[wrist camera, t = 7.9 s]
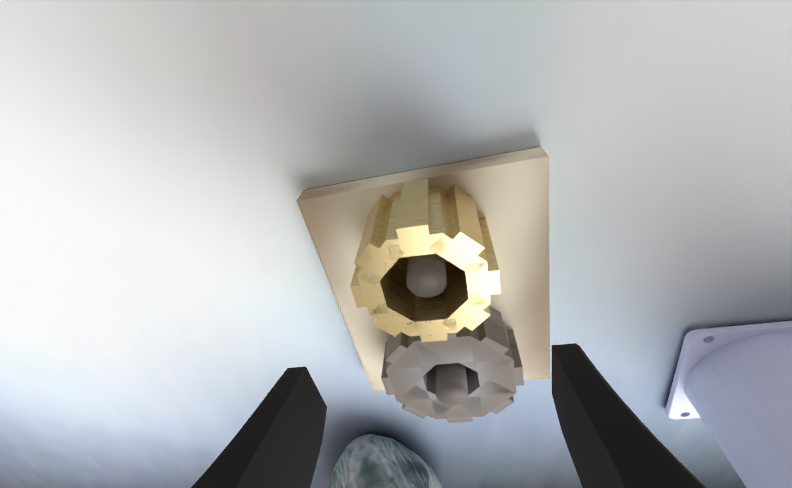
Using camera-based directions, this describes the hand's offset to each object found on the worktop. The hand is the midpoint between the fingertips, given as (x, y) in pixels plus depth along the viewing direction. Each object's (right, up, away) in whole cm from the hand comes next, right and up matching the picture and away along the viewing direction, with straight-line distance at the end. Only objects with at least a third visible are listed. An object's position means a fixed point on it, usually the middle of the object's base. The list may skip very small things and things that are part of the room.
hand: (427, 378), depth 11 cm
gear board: (+1, +2, +10) cm, 10 cm away
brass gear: (0, +4, +6) cm, 8 cm away
